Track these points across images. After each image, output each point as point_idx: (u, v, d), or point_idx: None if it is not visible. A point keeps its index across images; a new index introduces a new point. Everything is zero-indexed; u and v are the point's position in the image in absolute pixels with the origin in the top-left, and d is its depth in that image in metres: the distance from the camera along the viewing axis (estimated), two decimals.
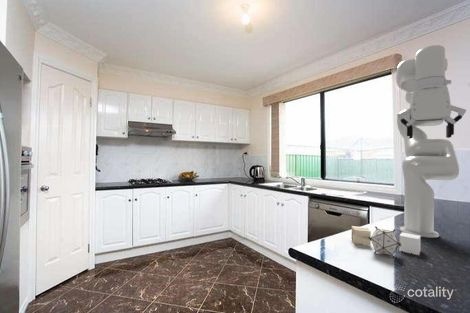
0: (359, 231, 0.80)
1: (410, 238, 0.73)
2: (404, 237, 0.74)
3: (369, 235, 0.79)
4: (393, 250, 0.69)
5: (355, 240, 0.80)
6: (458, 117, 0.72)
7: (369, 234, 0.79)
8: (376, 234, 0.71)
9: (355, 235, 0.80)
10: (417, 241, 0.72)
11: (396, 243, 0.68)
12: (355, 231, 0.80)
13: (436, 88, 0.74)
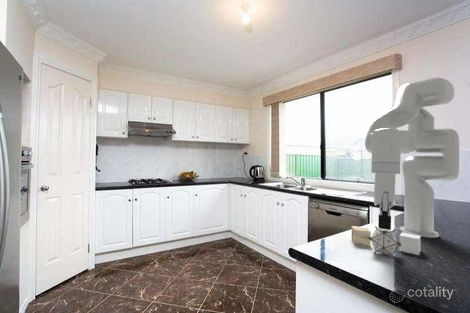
0: (359, 231, 0.80)
1: (410, 238, 0.73)
2: (404, 237, 0.74)
3: (369, 235, 0.79)
4: (393, 250, 0.68)
5: (355, 240, 0.80)
6: None
7: (369, 234, 0.79)
8: (376, 234, 0.71)
9: (355, 235, 0.80)
10: (417, 241, 0.72)
11: (396, 243, 0.68)
12: (355, 231, 0.80)
13: None
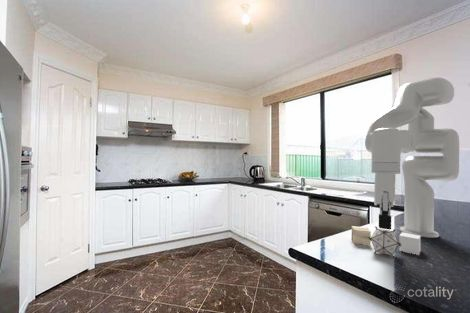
0: (359, 231, 0.80)
1: (410, 238, 0.73)
2: (404, 237, 0.74)
3: (369, 235, 0.79)
4: (393, 250, 0.69)
5: (355, 240, 0.80)
6: None
7: (369, 234, 0.79)
8: (376, 234, 0.71)
9: (355, 235, 0.80)
10: (417, 241, 0.72)
11: (396, 243, 0.68)
12: (355, 231, 0.80)
13: None
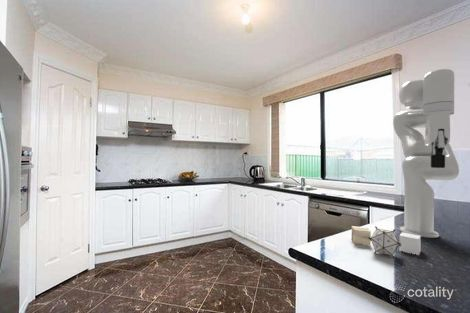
0: (359, 231, 0.80)
1: (410, 238, 0.73)
2: (404, 237, 0.74)
3: (369, 235, 0.79)
4: (393, 250, 0.69)
5: (355, 240, 0.80)
6: None
7: (369, 234, 0.79)
8: (376, 234, 0.71)
9: (355, 235, 0.80)
10: (417, 241, 0.72)
11: (396, 243, 0.68)
12: (355, 231, 0.80)
13: None
